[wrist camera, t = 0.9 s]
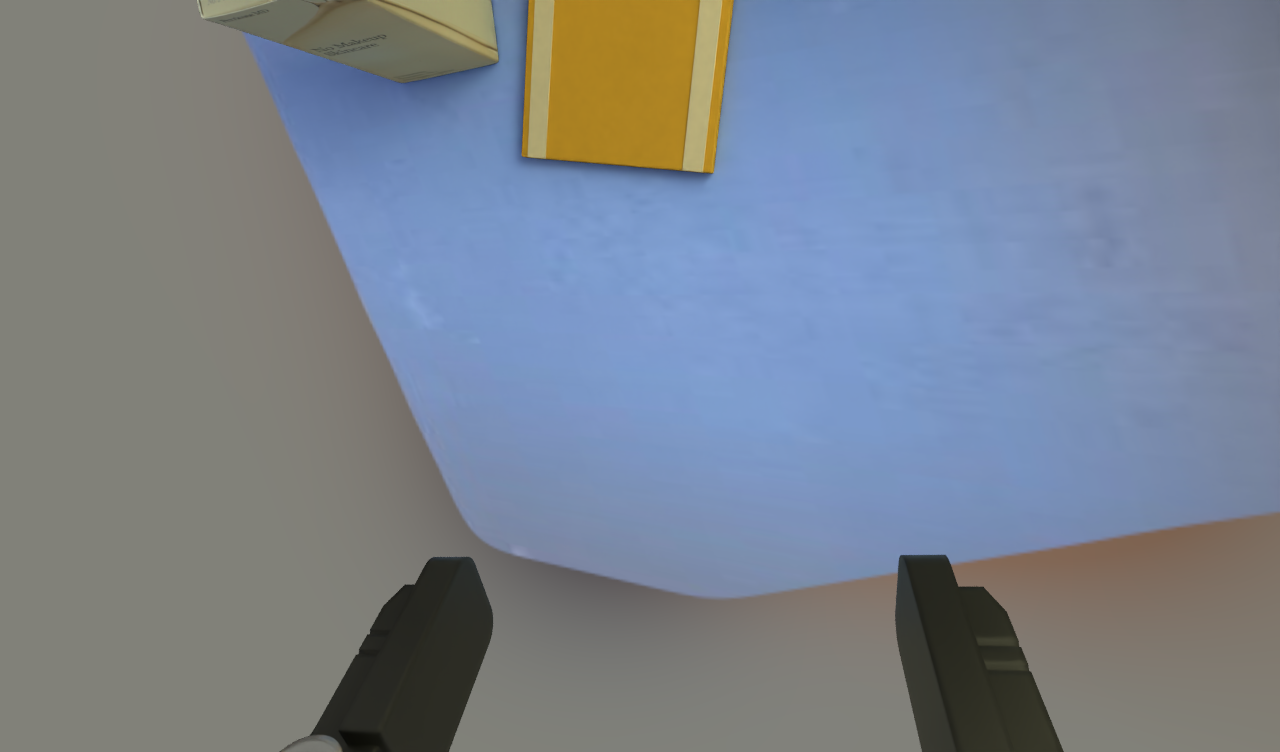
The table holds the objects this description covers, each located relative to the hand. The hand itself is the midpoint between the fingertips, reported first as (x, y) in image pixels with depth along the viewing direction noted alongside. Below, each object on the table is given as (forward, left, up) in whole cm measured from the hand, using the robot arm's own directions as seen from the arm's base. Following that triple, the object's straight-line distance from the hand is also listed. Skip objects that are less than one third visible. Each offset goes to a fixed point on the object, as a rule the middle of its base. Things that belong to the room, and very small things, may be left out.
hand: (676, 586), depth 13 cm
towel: (-16, -10, -22) cm, 29 cm away
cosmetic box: (-14, -20, -22) cm, 33 cm away
